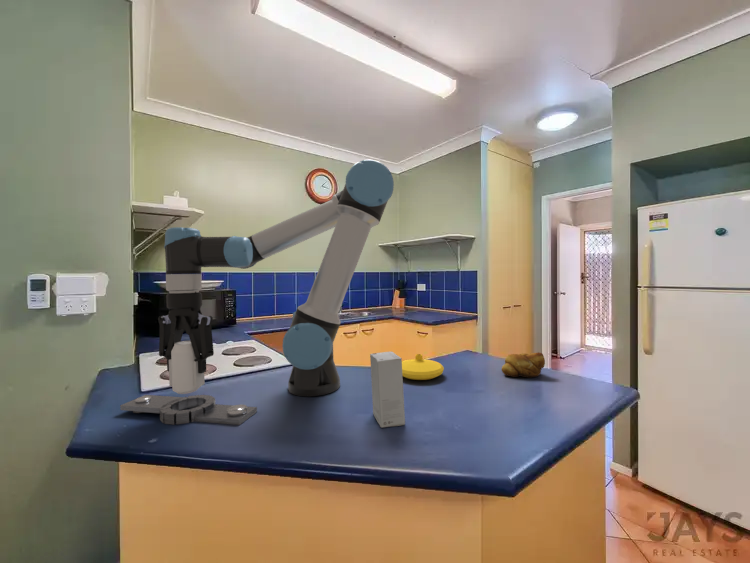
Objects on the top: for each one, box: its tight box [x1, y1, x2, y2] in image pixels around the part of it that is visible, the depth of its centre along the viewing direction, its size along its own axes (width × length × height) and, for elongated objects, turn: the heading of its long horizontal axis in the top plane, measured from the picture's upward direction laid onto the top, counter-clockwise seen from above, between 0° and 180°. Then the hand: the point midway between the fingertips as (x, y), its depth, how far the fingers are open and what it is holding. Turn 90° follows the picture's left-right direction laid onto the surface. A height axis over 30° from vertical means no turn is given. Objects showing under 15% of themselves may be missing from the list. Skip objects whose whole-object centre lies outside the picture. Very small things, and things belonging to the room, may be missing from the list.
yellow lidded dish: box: [402, 353, 445, 381], centre depth 105 cm, size 16×16×7 cm
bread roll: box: [501, 351, 546, 379], centre depth 104 cm, size 13×10×8 cm
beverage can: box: [171, 340, 202, 395], centre depth 79 cm, size 6×6×12 cm
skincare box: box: [369, 351, 406, 428], centre depth 74 cm, size 8×6×15 cm
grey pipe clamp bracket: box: [119, 394, 258, 426], centre depth 80 cm, size 33×12×3 cm, turn 78°
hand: (187, 385), depth 80 cm, fingers closed on beverage can, 6 cm apart
